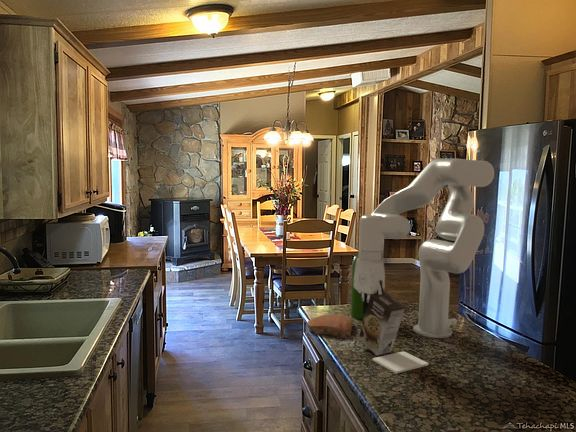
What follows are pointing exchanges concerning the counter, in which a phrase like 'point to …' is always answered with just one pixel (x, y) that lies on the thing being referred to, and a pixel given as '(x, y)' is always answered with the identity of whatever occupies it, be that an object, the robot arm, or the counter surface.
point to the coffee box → (381, 323)
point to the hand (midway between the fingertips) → (368, 314)
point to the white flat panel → (400, 362)
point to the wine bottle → (356, 298)
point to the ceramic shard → (331, 325)
